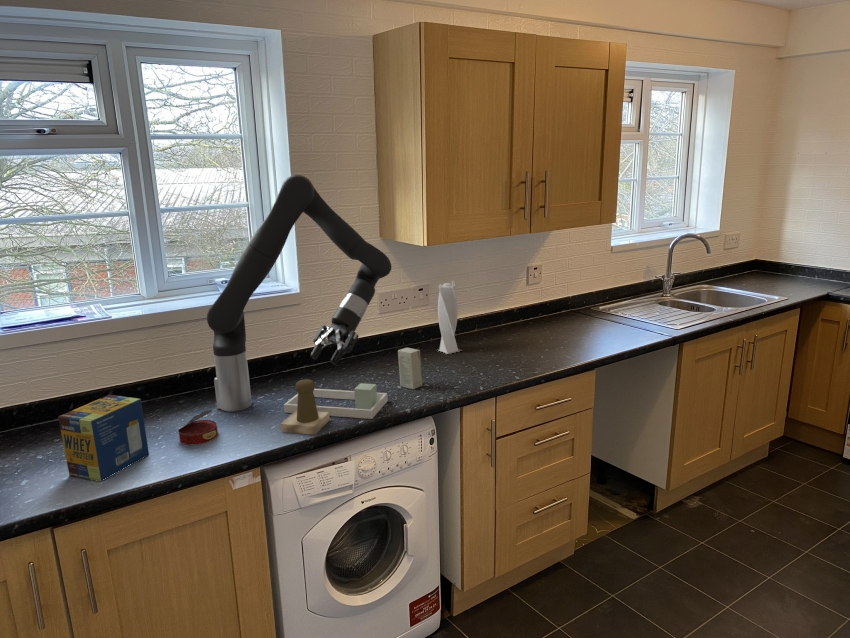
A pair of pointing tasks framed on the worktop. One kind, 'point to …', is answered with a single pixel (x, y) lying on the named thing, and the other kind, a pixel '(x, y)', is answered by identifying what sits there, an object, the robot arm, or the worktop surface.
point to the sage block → (365, 396)
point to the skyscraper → (447, 318)
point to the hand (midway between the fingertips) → (322, 360)
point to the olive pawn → (306, 401)
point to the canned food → (198, 430)
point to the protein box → (103, 436)
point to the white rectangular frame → (337, 411)
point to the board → (304, 424)
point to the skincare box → (410, 368)
